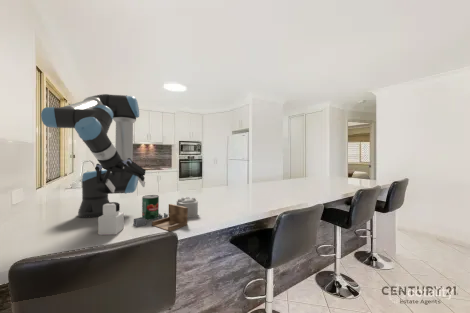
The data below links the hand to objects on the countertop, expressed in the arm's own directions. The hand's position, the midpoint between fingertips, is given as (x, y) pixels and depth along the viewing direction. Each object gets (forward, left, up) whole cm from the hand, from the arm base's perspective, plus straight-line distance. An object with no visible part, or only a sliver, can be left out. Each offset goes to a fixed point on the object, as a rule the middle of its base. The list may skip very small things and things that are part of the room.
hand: (129, 187), depth 99 cm
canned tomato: (-1, +12, -17) cm, 21 cm away
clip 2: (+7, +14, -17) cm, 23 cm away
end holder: (+16, +10, -17) cm, 25 cm away
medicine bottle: (+3, -9, -17) cm, 20 cm away
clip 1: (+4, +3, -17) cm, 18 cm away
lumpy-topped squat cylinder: (+8, +28, -17) cm, 34 cm away
